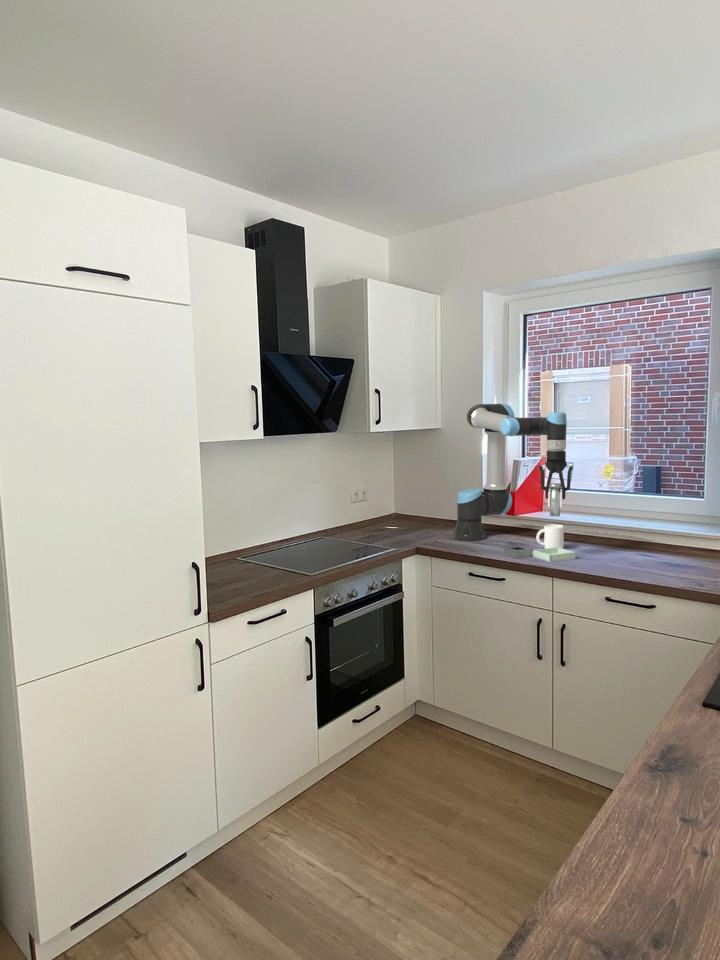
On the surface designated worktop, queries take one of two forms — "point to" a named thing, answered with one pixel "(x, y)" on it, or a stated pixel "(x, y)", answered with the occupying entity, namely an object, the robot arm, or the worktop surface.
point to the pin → (555, 499)
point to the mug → (552, 536)
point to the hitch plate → (517, 551)
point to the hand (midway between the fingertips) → (555, 506)
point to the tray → (554, 554)
